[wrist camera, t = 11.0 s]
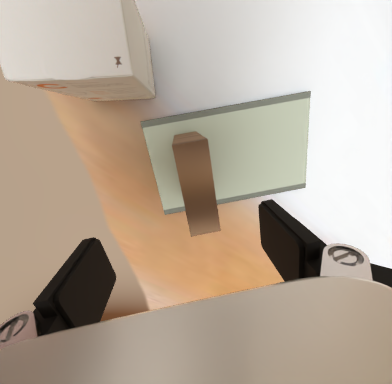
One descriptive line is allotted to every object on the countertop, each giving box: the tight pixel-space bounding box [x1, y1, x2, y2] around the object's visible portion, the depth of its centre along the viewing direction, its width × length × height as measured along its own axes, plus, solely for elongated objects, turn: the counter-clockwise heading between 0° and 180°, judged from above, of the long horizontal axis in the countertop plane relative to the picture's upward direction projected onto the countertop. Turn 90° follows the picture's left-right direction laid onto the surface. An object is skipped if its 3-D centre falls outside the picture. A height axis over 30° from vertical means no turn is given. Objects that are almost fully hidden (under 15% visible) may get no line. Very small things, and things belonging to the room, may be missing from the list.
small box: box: [0, 0, 156, 101], centre depth 17 cm, size 8×6×13 cm
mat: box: [141, 91, 311, 215], centre depth 28 cm, size 14×23×1 cm, turn 100°
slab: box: [172, 131, 221, 237], centre depth 22 cm, size 9×3×11 cm, turn 10°
